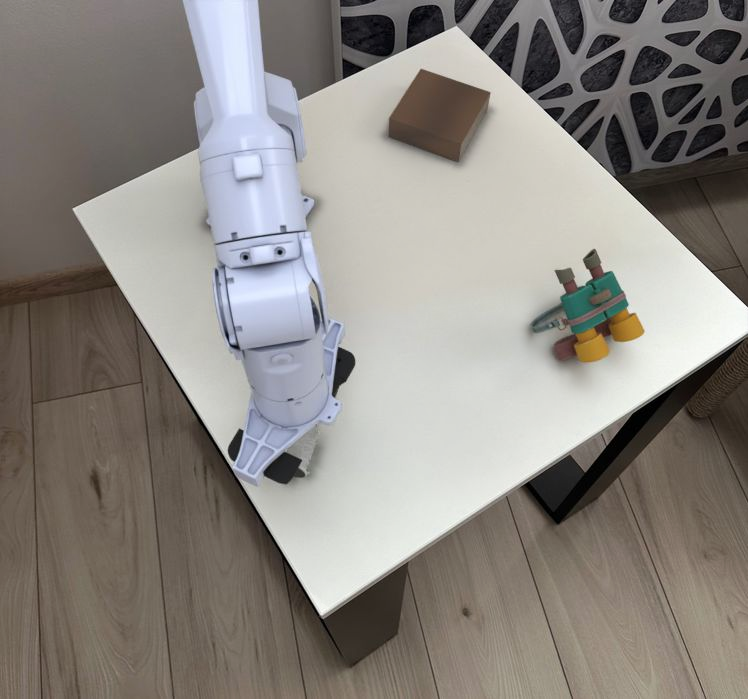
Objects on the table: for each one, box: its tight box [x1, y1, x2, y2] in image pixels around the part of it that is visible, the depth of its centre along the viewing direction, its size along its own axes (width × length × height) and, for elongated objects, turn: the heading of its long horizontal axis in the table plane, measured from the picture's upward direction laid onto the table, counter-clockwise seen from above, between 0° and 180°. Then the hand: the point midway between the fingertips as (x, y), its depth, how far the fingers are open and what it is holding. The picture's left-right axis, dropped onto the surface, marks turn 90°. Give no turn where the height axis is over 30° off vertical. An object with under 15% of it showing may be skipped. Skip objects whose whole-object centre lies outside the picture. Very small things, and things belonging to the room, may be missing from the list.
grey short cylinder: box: [286, 423, 320, 479], centre depth 69 cm, size 3×5×5 cm, turn 162°
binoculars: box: [529, 248, 646, 364], centre depth 74 cm, size 9×9×10 cm
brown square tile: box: [387, 68, 492, 163], centre depth 90 cm, size 9×9×3 cm
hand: (300, 437), depth 67 cm, fingers open, 7 cm apart
